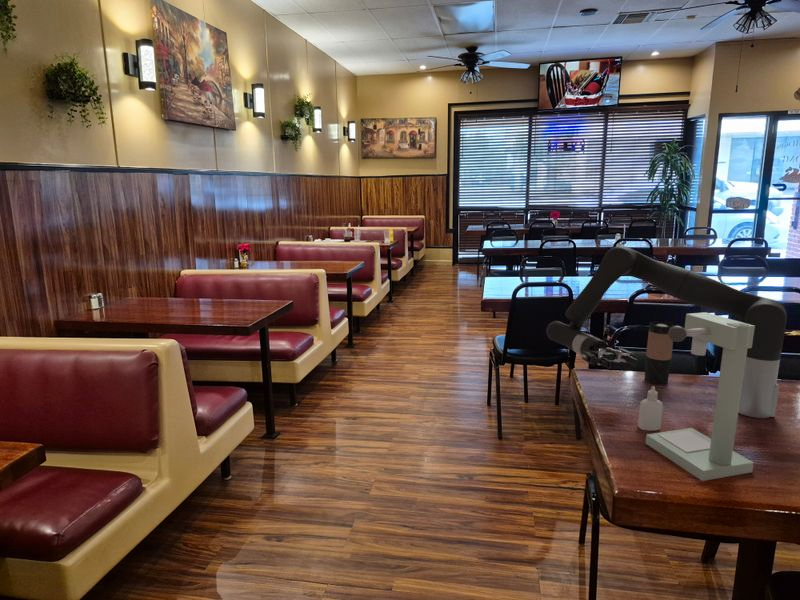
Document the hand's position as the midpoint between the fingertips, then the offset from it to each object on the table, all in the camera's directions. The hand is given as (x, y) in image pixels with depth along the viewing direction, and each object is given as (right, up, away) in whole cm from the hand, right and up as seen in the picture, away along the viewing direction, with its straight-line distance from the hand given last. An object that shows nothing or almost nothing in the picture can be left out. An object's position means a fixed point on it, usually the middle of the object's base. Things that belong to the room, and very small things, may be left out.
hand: (623, 364), depth 147 cm
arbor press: (+5, -20, -23) cm, 31 cm away
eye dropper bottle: (+4, -17, -7) cm, 19 cm away
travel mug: (+23, -9, +27) cm, 37 cm away
